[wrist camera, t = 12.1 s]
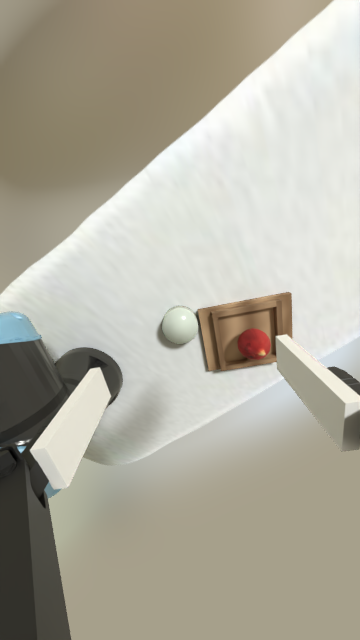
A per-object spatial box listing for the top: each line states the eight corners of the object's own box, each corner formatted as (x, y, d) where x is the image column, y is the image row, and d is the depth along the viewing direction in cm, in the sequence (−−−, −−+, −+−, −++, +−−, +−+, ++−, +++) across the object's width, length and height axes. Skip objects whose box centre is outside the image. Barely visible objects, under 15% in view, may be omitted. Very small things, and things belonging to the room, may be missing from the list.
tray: (208, 367, 46) (209, 375, 44) (197, 309, 42) (198, 313, 39) (289, 354, 45) (296, 360, 42) (288, 292, 40) (295, 295, 38)
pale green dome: (167, 340, 44) (166, 346, 41) (159, 309, 42) (158, 314, 39) (199, 334, 43) (201, 340, 41) (193, 302, 41) (194, 307, 38)
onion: (243, 353, 44) (256, 375, 36) (227, 334, 42) (238, 353, 34) (267, 337, 42) (286, 357, 35) (251, 317, 41) (267, 333, 33)
